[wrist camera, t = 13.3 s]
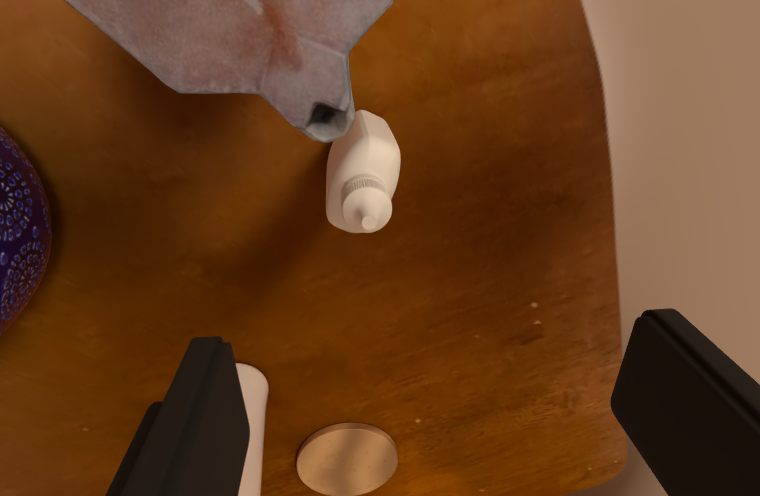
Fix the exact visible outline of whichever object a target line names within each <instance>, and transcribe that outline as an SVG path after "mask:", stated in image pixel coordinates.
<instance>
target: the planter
mask: <svg viewBox="0 0 760 496" xmlns="http://www.w3.org/2000/svg"><path fill="white" fill-rule="evenodd" d="M51 245H52V219H51V211H50V205H49V201H48V198H47V195H46V192H45V189H44V186H43V184H42V182H41V180H40V178H39V176H38V174H37V172H36V170H35V168H34V167H33V165H32V163H31V162H30V160H29V159H28V157H27V156H26V155H25V153H24V152H23V151H22V149H21V148H20V147H19V146H18V144H17V143H16V142H15V141H14V140H13V139H12V138H11V136H10V135H9V134H8V133H7V132H6V131H5V130H4V129H3V128H2V127H1V126H0V337H1V335H2V334H3V333H4V332H5V331H6V330H7V328H8V327H9V326H10V325H11V324H12V322H13V321H14V320H15V319H16V318H17V316H18V315H19V314H20V313H21V312H22V310H23V309H24V308H25V307H26V305H27V304H28V302H29V301H30V299H31V298H32V296H33V294H34V293H35V291H36V289H37V288H38V286H39V284H40V282H41V281H42V279H43V276H44V274H45V271H46V269H47V265H48V261H49V256H50V251H51Z"/></svg>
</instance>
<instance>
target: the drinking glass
mask: <svg viewBox="0 0 760 496" xmlns="http://www.w3.org/2000/svg"><path fill="white" fill-rule="evenodd" d="M236 367H237V372H238V376H239V381H240V385H241V390H242V394H243V399H244V403H245V407H246V412H247V416H248V421H249V426H250V440H249V446H248V450H247V455H246V460H245V464H244V469H243V474H242V478H241V483H240V488H239V493H238V496H260V495H261V480H262V462H263V445H264V429H265V414H266V403H267V398H268V382H267V380H266V378H265V376H264V375H263V374H262V373H261V372H260V371H259V370H258V369H256V368H254V367H252V366H250V365H247V364H242V363H236Z"/></svg>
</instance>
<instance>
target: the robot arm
mask: <svg viewBox="0 0 760 496" xmlns="http://www.w3.org/2000/svg"><path fill="white" fill-rule="evenodd" d="M611 409H612V411H613V414H614V415H615V417H616V418H617V420H618V421H619V423H620V424H621V426H622V427H623V429H624V430H625V432H626V433H627V435H628V436H629V438H630V439H631V440H632V442H633V444H634V445H635V447H636V448H637V449H638V451H639V452H640V454H641V456H642V457H643V459H644V460H645V461H646V463H647V464H648V466H649V467H650V469H651V470H652V472H653V473H654V475H655V476H656V478H657V479H658V481H659V482H660V484H661V485H662V487H663V488H664V490H665V491H666V493H667V494H668V496H760V385H759V384H758V383H757V382H756V381H755V380H754V379H753V378H751V377H750V376H749V375H748V374H747V373H746V372H745V371H743V369H741V368H740V367H739V366H738V365H737V364H736V363H735V362H734V361H733V360H731V359H730V358H729V357H728V356H727V355H726V354H725V353H723V352H722V351H721V350H720V349H719V348H718V347H717V346H716V345H715V344H714V343H712V342H711V341H710V340H709V339H708V338H707V337H706V336H704V335H703V334H702V333H701V332H700V331H699V330H698V329H697V328H696V327H695V326H694V325H692V324H691V323H690V322H689V321H688V320H687V319H686V318H685V317H683V316H682V315H681V314H680V313H679V312H678V311H676V310H675V309H656V310H646V311H644V312H643V313H642V315H641V317H638V318H637V319H636V321H635V323H634V326H633V330H632V333H631V336H630V339H629V342H628V346H627V349H626V352H625V355H624V358H623V361H622V364H621V368H620V371H619V374H618V377H617V380H616V383H615V387H614V390H613V393H612V396H611ZM249 440H250V426H249V421H248V416H247V412H246V407H245V403H244V399H243V394H242V390H241V385H240V381H239V376H238V372H237V367H236V363H235V358H234V354H233V350H232V346H231V344H230V343H229V342H227V343H223V340H222V338H221V337H219V336H217V337H201V338H193V339H192V340H191V342H190V344H189V346H188V348H187V351H186V353H185V355H184V357H183V359H182V362H181V364H180V366H179V368H178V370H177V373H176V375H175V377H174V379H173V381H172V384H171V386H170V388H169V390H168V392H167V395H166V397H165V399H164V401H163V402H154V403H153V404H152V405H150V407H149V408H148V410H147V411H146V413H145V415H144V417H143V419H142V422H141V424H140V426H139V428H138V430H137V432H136V434H135V436H134V438H133V440H132V442H131V444H130V446H129V448H128V450H127V452H126V455H125V457H124V459H123V461H122V463H121V465H120V467H119V469H118V471H117V473H116V475H115V477H114V479H113V481H112V483H111V485H110V488H109V490H108V492H107V494H106V496H238V493H239V488H240V483H241V478H242V474H243V469H244V464H245V460H246V455H247V450H248V446H249Z"/></svg>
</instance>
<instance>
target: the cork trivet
mask: <svg viewBox="0 0 760 496" xmlns="http://www.w3.org/2000/svg"><path fill="white" fill-rule="evenodd" d="M397 464H398V454H397V448H396V445H395V443H394V441H393V440H392V438H391V437H390V436H389V435H388V434H387V433H385V432H384V431H383V430H381V429H379V428H377V427H374V426H372V425H368V424H363V423H340V424H335V425H331V426H328V427H325V428H323V429H320V430H318V431H317V432H315V433H313V434H312V435H311V436H309V437H308V438H307V439H306V440H305V441H304V443H303V444H302V445H301V447H300V449H299V452H298V455H297V472H298V474H299V477H300V478H301V480H302V481H303V482H304V483H305V484H306V485H307V486H308V487H310V488H311V489H313V490H315V491H317V492H319V493H322V494H326V495H330V496H355V495H360V494H364V493H367V492H370V491H372V490H374V489H376V488H378V487H380V486H381V485H383V484H384V483H385V482H386V481H388V480H389V479H390V477H391V476H392V475H393V473H394V472H395V470H396V467H397Z"/></svg>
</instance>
